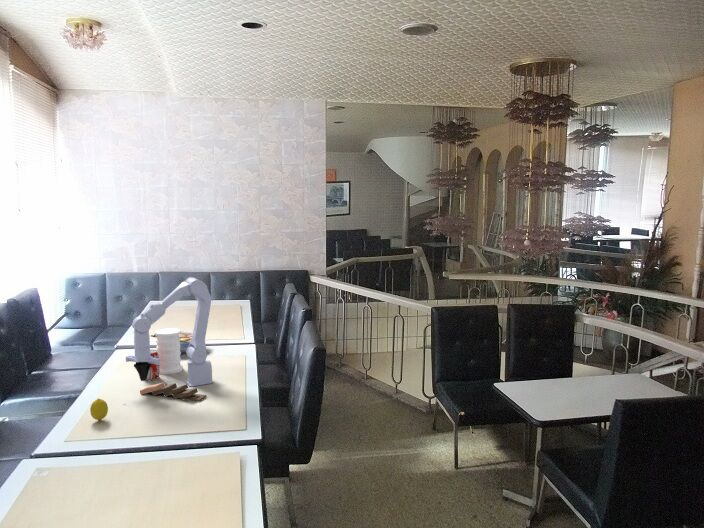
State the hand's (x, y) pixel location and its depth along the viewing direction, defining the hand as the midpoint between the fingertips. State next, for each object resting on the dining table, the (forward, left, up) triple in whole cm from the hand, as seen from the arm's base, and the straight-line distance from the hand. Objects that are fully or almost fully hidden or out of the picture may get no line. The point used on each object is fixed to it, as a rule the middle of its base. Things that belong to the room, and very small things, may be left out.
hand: (143, 380), depth 216 cm
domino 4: (-13, +13, -5) cm, 19 cm away
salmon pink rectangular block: (0, 0, -4) cm, 4 cm away
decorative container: (-14, -24, -5) cm, 28 cm away
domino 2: (-8, +7, -4) cm, 12 cm away
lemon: (+18, +22, -5) cm, 29 cm away
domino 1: (-4, +4, -4) cm, 7 cm away
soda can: (-5, -16, -5) cm, 17 cm away
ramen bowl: (-25, -53, -5) cm, 59 cm away
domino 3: (-11, +11, -4) cm, 16 cm away
